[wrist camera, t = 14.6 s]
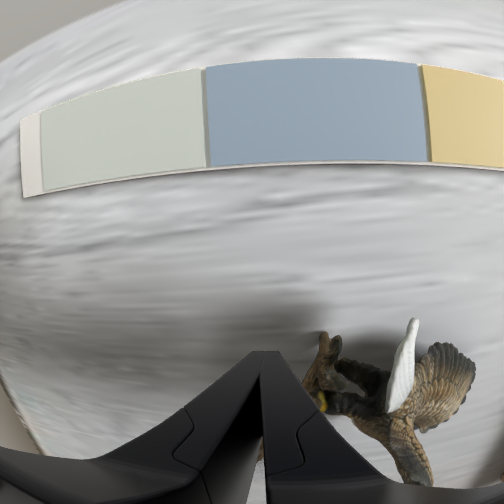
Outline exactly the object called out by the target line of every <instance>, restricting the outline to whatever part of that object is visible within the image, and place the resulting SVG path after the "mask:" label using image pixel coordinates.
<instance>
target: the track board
mask: <svg viewBox="0 0 504 504" xmlns="http://www.w3.org/2000/svg"><path fill="white" fill-rule="evenodd" d="M20 155H21V174H22V187H23V198H25V197H31V196H36V195H41V194H46V193H51V192H56V191H62V190H67V189H73V188H78V187H84V186H90V185H96V184H102V183H109V182H115V181H122V180H129V179H137V178H144V177H152V176H160V175H169V174H178V173H187V172H197V171H208V170H219V169H232V168H246V167H262V166H281V165H307V164H406V165H431V166H449V167H463V168H476V169H487V170H498V171H504V80H501V79H497V78H493V77H489V76H485V75H481V74H476V73H472V72H467V71H462V70H457V69H451V68H446V67H440V66H434V65H427V64H420V63H412V62H403V61H394V60H382V59H368V58H345V57H302V58H279V59H264V60H252V61H242V62H233V63H225V64H217V65H210V66H204V67H197V68H191V69H186V70H180V71H175V72H170V73H165V74H160V75H156V76H151V77H147V78H142V79H138V80H134V81H130V82H126V83H123V84H119V85H115V86H112V87H108V88H105V89H101V90H98V91H95V92H92V93H88V94H85V95H82V96H79V97H76V98H73V99H71V100H68V101H65V102H62V103H59V104H57V105H54V106H51V107H49V108H46V109H44V110H41V111H39V112H36V113H34V114H31V115H29V116H27V117H24V118H22V119H20Z"/></svg>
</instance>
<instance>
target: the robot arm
mask: <svg viewBox="0 0 504 504" xmlns="http://www.w3.org/2000/svg"><path fill="white" fill-rule="evenodd" d="M262 437H263V451H264V467H265V483H266V502H267V504H504V482H502V483H499V484H496V485H493V486H489V487H484V488H476V489H454V488H440V487H429V486H420V485H412V484H404V483H399V482H395V481H393V480H391V479H389V478H387V477H386V476H384V475H383V474H381V473H380V472H379V471H378V470H377V469H375V468H374V467H373V466H372V465H371V464H370V463H369V462H368V461H367V460H366V459H365V458H364V457H362V456H361V455H360V454H359V453H358V452H357V451H356V450H355V449H354V448H353V447H352V446H351V445H350V444H349V443H348V442H347V441H346V440H345V439H344V438H343V437H342V436H341V435H340V434H339V433H338V432H337V431H336V430H335V429H334V427H333V426H332V425H331V424H330V422H329V421H328V420H327V418H326V417H325V416H324V414H323V413H322V412H321V411H320V409H319V408H318V406H317V405H316V403H315V402H314V401H313V399H312V398H311V396H310V395H309V394H308V392H307V391H306V389H305V388H304V387H303V385H302V384H301V382H300V381H299V379H298V378H297V377H296V375H295V374H294V372H293V371H292V370H291V368H290V367H289V365H288V364H287V362H286V361H285V360H284V358H283V357H282V355H281V354H280V352H278V351H252V352H251V353H250V354H248V355H247V356H246V357H245V358H244V359H242V360H241V361H240V362H239V363H238V364H236V365H235V366H234V367H233V368H232V369H230V370H229V371H228V372H227V373H226V374H224V375H223V376H222V377H221V378H219V379H218V380H217V381H216V382H214V383H213V384H212V385H211V386H209V387H208V388H207V389H206V390H204V391H203V392H202V393H201V394H199V395H198V396H197V397H196V398H194V399H193V400H192V401H190V402H189V403H188V404H187V405H185V406H184V408H181V409H180V410H179V411H177V412H176V413H175V414H173V415H172V416H170V417H169V418H168V419H166V420H165V421H163V422H162V423H160V424H159V425H157V426H156V427H154V428H152V429H151V430H149V431H147V432H146V433H144V434H142V435H140V436H139V437H137V438H135V439H133V440H131V441H130V442H128V443H126V444H124V445H122V446H120V447H119V448H117V449H115V450H113V451H111V452H109V453H107V454H105V455H103V456H100V457H97V458H93V459H84V460H79V459H68V458H60V457H52V456H45V455H39V454H33V453H27V452H22V451H17V450H12V449H8V448H4V447H1V446H0V504H246V501H247V497H248V494H249V490H250V486H251V482H252V478H253V474H254V470H255V466H256V462H257V458H258V454H259V449H260V445H261V441H262Z"/></svg>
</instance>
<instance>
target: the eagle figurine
mask: <svg viewBox="0 0 504 504" xmlns="http://www.w3.org/2000/svg"><path fill="white" fill-rule="evenodd" d="M418 326H419V319H418V318H416V319H415V318H411V319H410V321H409V324H408V327H407V331H406V335H405V337H404V339H403V340H402V341H401V343H400V344H399V346H398V348H397V350H396V352H395V356H394V364H393V368H392V372H389V371H382V370H380V369H379V368H376V367H374V366H373V365H369V364H364V363H359V362H358V361H357V360H350V359H347V358H342V359H341V360H337V358H338V355H339V354H340V352H341V350H342V338H341V336H339V335H338V336H335V337H333V338H332V339H330V338H329V336H328V333H327V332H326V331H325V332H323V333H322V334H321V335H320V339H319V352H318V354H317V357H316V359H315V361H314V363H313V364H312V366H311V368H310V369H309V371H308V372H307V374H306V376H305V378H304V380H303V382H302V383H301V384H302V385H303V387H304V388H305V389H306V391H307V392H308V394H309V395H310V396H311V398H312V399H313V401H314V402H315V403H316V405H317V406H318V408H319V409H320V411H321V412H324V413H327V414H331V415H336V414H339V415H346V416H347V417H349V418H351V420H352V423H353V424H354V425H355V426H356V427H357V428H358V429H359V430H360V431H361V432H363V433H364V434H366V435H368V436H370V437H372V438H374V439H376V440H378V441H379V442H380V443H381V444H382V445H383V446H384V447H385V448H386V449H387V450H388V451H389V453H390V454H391V455H392V457H393V458H394V460H395V464H396V467H397V469H398V472H399V474H400V475H401V477H402V479H403V481H404V484H412V485H420V486H429V487H433V483H434V481H433V474H432V471H431V467H430V465H429V461H428V458H427V456H426V455H425V451H424V450H423V447H422V445H421V444H420V442H419V441H418V439H417V437H416V435H415V433H414V430H413V427H414V423H415V424H416V425H418V426H419V429H420V432H421V433H426V432H427V431H428V430H429V429H433V428H436V427H437V426H438V425H439V423H442V422H446V421H448V420H449V418H450V417H451V415H454V414H455V413H456V412H457V411H458V409H459V406H460V405H461V404H463V403H464V402H465V400H466V393H467V392H468V391H469V390H470V389H471V384H472V383H473V381H474V379H475V371H476V367H475V363H474V362H472V361H471V360H470V359H469V358H468V359H467V358H466V357H465V356H463V354H462V353H458V349H457V348H455V347H454V346H453V344H451V343H450V344H448V343H443V344H441V343H439V342H436V343H435V344H434V345H432V346H430V347H429V350H428V353H427V354H425V355H423V356H422V357H421V359H420V362H419V363H415V360H414V350H415V339H416V335H417V331H418ZM338 373H341V374H342V375H343V376H344V377H345V378H346V379H347V380H349V381H351V382H353V383H355V384H357V385H358V386H359V387H360V389H361V390H363V391H364V392H365V397H360V396H359V395H358V394H357V393H350V392H348V391H346V392H344V393H340V392H336V391H339V390H342V389H344V388H346V387H347V386H348V385H349V383H348V382H347V381H346V380H345V379H343V378H341V376H340V375H339V374H338ZM263 457H264V451H263V437H262V441H261V445H260V449H259V454H258V458H257V462H258V461H260V460H261V459H262V458H263ZM257 462H256V463H257Z"/></svg>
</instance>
